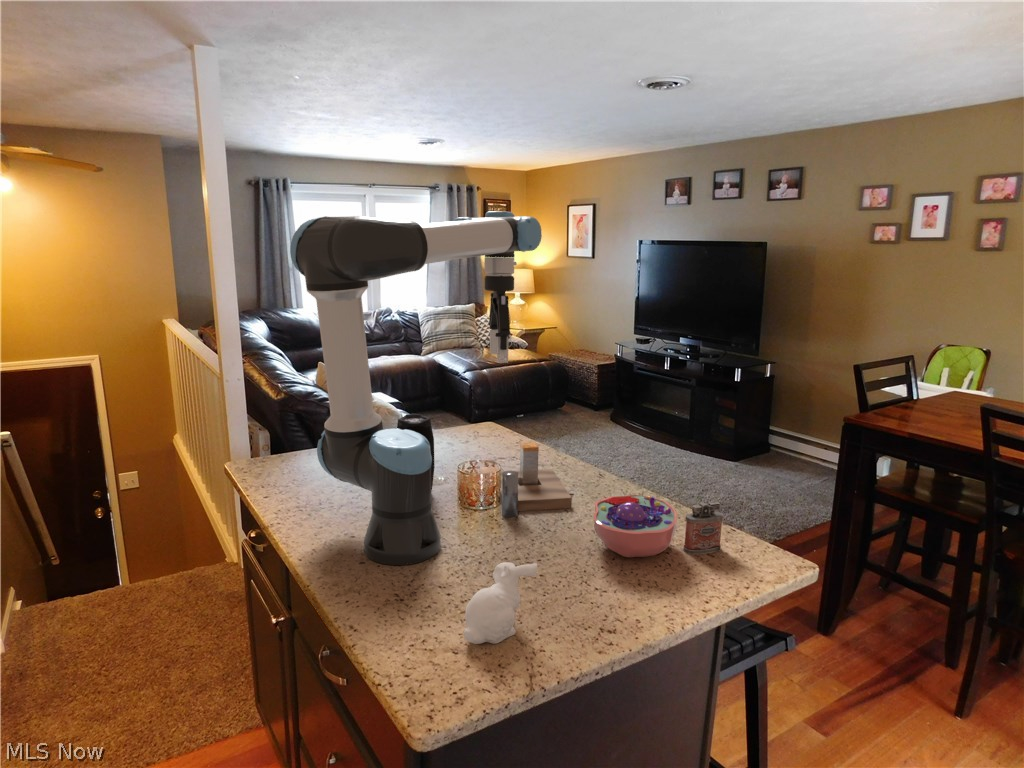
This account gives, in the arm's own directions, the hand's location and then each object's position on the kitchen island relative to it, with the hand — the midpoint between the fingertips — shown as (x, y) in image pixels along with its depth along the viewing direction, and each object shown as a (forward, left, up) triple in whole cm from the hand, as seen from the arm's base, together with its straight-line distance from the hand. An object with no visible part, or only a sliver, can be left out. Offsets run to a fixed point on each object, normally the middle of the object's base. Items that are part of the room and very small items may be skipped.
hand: (498, 358), depth 162 cm
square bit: (-13, -6, -32) cm, 35 cm away
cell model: (-47, -21, -32) cm, 61 cm away
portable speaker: (-12, +22, -32) cm, 41 cm away
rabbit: (-70, +10, -32) cm, 78 cm away
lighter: (-49, -35, -32) cm, 68 cm away
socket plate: (-15, -6, -32) cm, 36 cm away
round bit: (-27, +1, -32) cm, 42 cm away
